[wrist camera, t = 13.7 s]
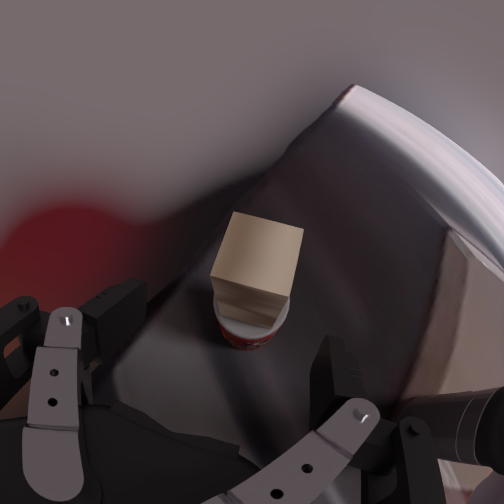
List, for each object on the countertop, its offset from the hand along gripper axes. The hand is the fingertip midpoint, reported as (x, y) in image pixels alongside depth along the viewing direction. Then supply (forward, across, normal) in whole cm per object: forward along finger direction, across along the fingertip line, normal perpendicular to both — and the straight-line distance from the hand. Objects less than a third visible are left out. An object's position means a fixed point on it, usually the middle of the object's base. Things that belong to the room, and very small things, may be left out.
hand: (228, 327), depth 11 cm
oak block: (+14, 0, +6) cm, 15 cm away
